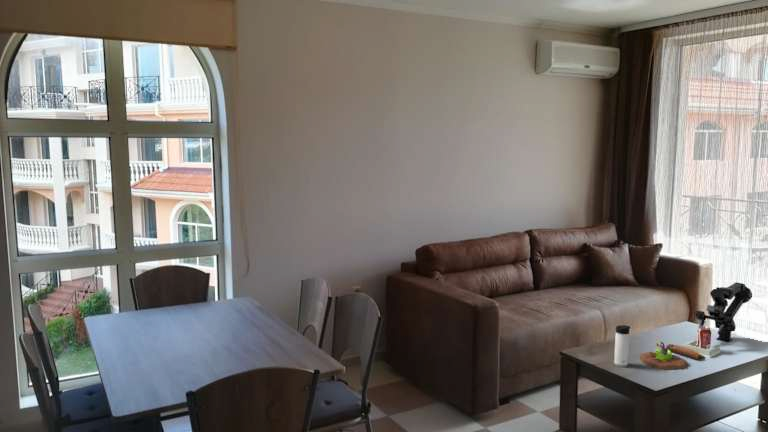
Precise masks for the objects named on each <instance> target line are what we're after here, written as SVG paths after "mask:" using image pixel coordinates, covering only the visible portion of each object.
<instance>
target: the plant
mask: <svg viewBox="0 0 768 432" xmlns="http://www.w3.org/2000/svg"><path fill="white" fill-rule="evenodd" d="M655 345H656V346H657V347H660V349H659V348H654V351H649V352H642V353H641V354H639V359H640V361H641V362H642V363H643V364H644V365H646V366H648V367H650V368H655V369H657V370H658V371H659V370H661V371H667V370H681V369H685V368H686V367H688V361H687V360H686V359H684V358H682V357H680V356H679V355H676V354H675V353H671V352H672V351H670V350H668V348H669V347H670V346H672V348H673V349H675V346H674V345H675V344H673V345H669V344H668V345H669V346H667V345H666V346H667V348H666V346H665V344H664V342H663V341H660V342H657V343H656V344H655Z"/></svg>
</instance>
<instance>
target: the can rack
mask: <svg viewBox="0 0 768 432" xmlns="http://www.w3.org/2000/svg"><path fill="white" fill-rule="evenodd" d="M682 345H683V346H682V347H685V348H689V349H692V350H695V351H696V352H697V353H699V354H701V355H703V356H704V357H706V358H709V359H710V358H712V357H715V356H717V354H719V353H721V351H722V350H721V345H719V344H715V345H713V346H710V348H709V349H708V350H707V349H703V348H700V347H696V338H694V339H691V340H690V341H687V342H685V343H683V344H682Z"/></svg>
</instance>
